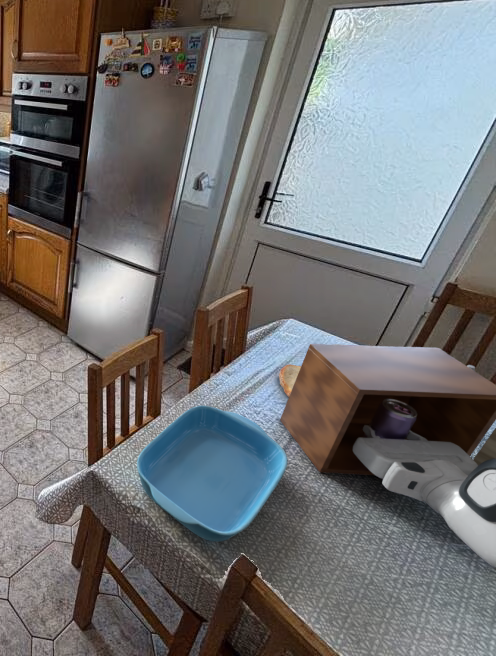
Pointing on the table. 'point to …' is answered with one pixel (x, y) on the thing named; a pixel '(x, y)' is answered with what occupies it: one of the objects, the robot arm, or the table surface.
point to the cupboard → (377, 385)
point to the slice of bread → (288, 377)
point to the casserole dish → (212, 471)
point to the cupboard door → (487, 449)
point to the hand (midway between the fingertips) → (383, 428)
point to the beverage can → (393, 419)
